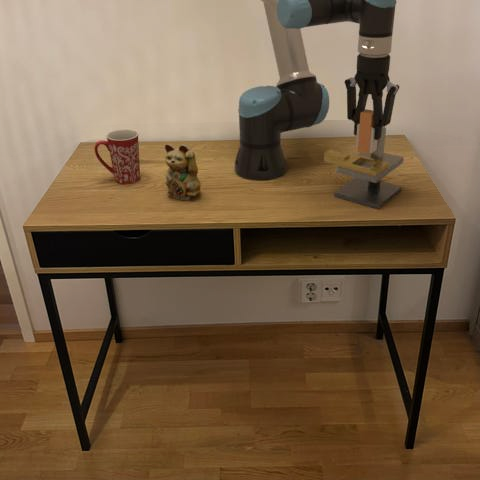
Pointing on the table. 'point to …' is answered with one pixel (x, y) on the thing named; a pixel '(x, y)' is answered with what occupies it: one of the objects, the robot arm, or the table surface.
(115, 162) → the mug
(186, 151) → the decorative figurine
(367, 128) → the wedge pin
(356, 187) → the grey and yellow stand
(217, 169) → the table surface
